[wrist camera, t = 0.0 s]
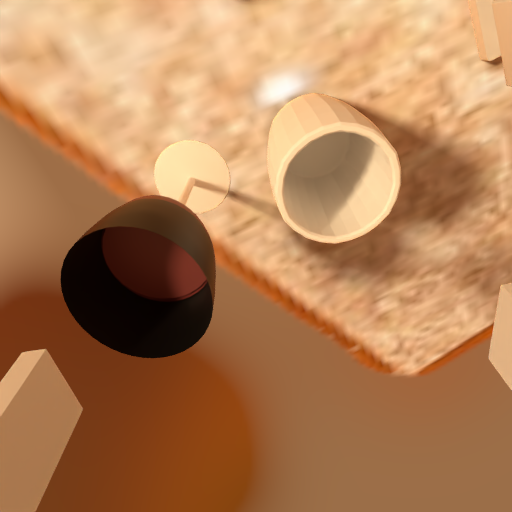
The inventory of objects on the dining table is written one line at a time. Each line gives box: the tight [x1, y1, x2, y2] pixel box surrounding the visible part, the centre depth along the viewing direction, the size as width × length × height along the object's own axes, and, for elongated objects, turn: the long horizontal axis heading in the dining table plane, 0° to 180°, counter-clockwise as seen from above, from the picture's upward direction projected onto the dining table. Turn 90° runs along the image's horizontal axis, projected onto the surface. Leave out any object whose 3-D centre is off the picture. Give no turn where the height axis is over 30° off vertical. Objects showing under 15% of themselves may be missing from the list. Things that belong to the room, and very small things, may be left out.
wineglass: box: [61, 140, 230, 358], centre depth 29 cm, size 8×9×20 cm
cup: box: [267, 93, 401, 244], centre depth 30 cm, size 8×8×14 cm
